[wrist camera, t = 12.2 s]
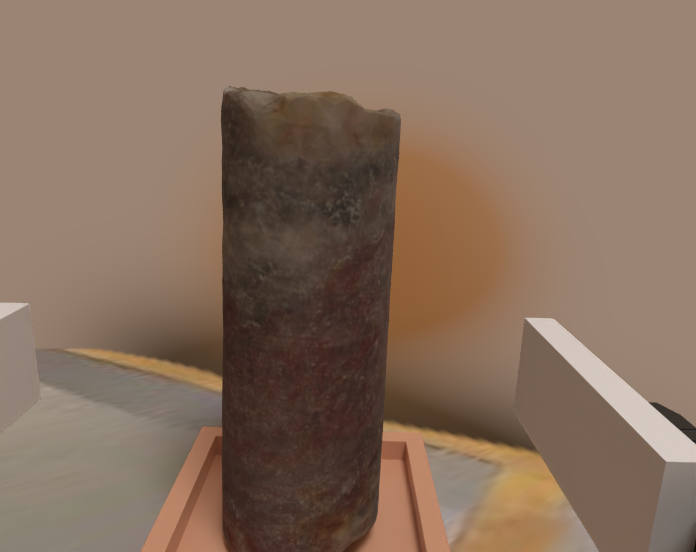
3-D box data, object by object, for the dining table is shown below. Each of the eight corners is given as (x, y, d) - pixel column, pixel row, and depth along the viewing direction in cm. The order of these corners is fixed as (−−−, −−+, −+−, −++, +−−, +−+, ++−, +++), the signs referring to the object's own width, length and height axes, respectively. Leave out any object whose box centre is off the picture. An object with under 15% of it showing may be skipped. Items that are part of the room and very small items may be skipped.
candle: (314, 460, 32) (322, 96, 27) (411, 526, 27) (444, 92, 22) (193, 519, 27) (174, 82, 21) (285, 615, 21) (290, 72, 16)
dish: (114, 650, 20) (111, 611, 20) (203, 453, 33) (202, 426, 33) (463, 659, 21) (467, 620, 20) (419, 459, 33) (420, 433, 33)
